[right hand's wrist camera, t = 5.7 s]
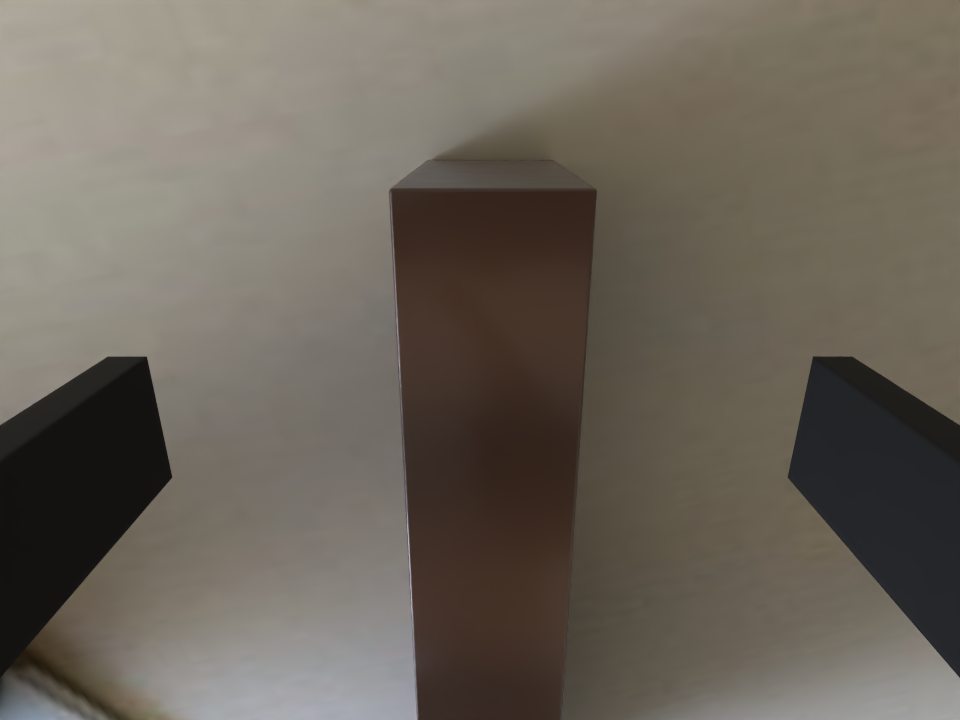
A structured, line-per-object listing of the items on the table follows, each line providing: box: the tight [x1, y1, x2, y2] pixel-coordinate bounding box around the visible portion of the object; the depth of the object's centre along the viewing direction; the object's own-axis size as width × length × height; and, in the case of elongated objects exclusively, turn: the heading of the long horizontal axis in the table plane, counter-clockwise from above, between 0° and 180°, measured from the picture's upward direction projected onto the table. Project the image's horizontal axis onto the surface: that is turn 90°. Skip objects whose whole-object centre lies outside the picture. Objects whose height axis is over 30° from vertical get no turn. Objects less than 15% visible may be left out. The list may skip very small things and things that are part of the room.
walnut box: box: [389, 160, 597, 720], centre depth 26 cm, size 34×5×10 cm, turn 0°
